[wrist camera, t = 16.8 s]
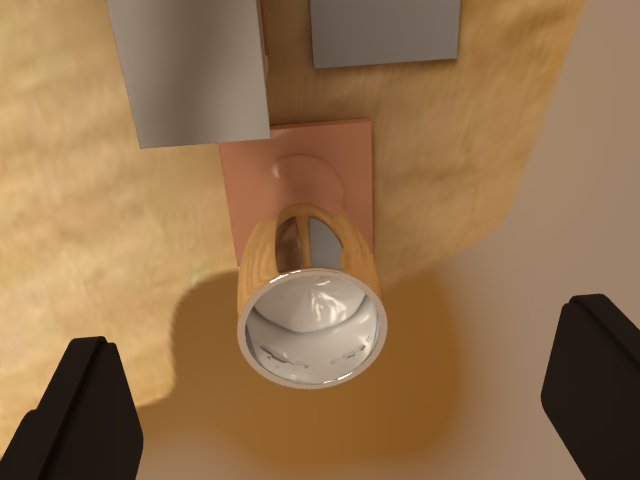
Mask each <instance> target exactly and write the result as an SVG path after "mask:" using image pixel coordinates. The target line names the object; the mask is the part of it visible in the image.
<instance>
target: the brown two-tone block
mask: <svg viewBox="0 0 640 480" xmlns="http://www.w3.org/2000/svg"><path fill="white" fill-rule="evenodd" d="M106 4H107V8H108V12H109V17H110V21H111V25H112V29H113V34H114V38H115V42H116V47H117V51H118V55H119V59H120V64H121V68H122V72H123V77H124V81H125V85H126V89H127V94H128V98H129V102H130V107H131V111H132V115H133V119H134V124H135V128H136V132H137V137H138V141H139V145H140V149H145V148H157V147H170V146H182V145H195V144H208V143H220V142H233V141H245V140H258V139H270V136H271V132H270V123H269V114H268V104H267V95H266V84H267V76H268V57H267V55H268V53H269V47H268V37H267V27H266V17H265V7H264V0H106Z"/></svg>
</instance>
